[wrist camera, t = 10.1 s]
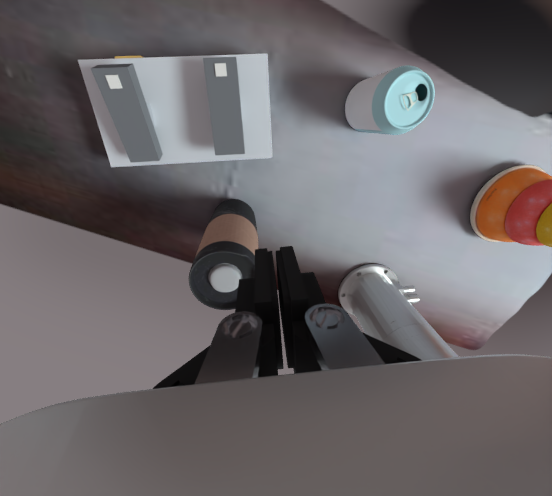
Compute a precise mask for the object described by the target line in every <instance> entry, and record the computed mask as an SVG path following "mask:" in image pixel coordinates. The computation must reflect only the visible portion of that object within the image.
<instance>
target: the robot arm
mask: <svg viewBox="0 0 552 496" xmlns="http://www.w3.org/2000/svg"><path fill="white" fill-rule="evenodd" d="M276 262H277V276H278V290H279V302H280V311H281V319H282V327H283V334H284V342H285V349H286V357H287V365H288V368H294V374H286V375H278V369H283V359H282V358H283V356H282V343H281V330H280V316H279V304H278V295H277V287H276V279H275V271H274V263H273V255H272V251H267V248H265V249H255V277H254V278H245V279H239V284H238V292H237V301H236V310H235V313H233V314H231V315H229V316H227V317H225V318H224V319H223V320H222V321H221V322H220V324H219V325H218V328H217V330H216V333H215V335H214V337H213V340H212V343H211V345H210V346H209V347H207V348H206V349H205V350H203V351H202V352H201V353H199V354H198V355H196V356H195V357H194V358H192V359H191V360H190V361H188V362H187V363H186V364H184V365H183V366H182V367H180V368H179V369H177V370H176V371H175V372H173V373H172V374H171V375H169V376H168V377H166V378H165V379H164V380H162V381H161V382H160V383H158V384H157V385H156V386H155V387H154V388H153V389H149V390H140V391H131V392H124V393H116V394H110V395H103V396H95V397H88V398H82V399H77V400H72V401H68V402H63V403H58V404H55V405H52V406H48V407H45V408H41V409H38V410H35V411H32V412H29V413H27V414H24V415H21V416H19V417H16V418H14V419H11V420H9V421H6V422H4V423H1V424H0V496H552V358H551V357H544V356H533V355H519V354H517V355H516V354H498V355H484V356H483V355H482V356H468V357H459V356H458V355H457V354H456V353H455V352H454V351H453V350H452V349H451V348H450V347H449V346H448V345H447V344H446V342H445V341H444V340H443V339H442V338H441V337H440V336H439V335H438V334H437V333H436V331H435V330H434V329H433V328H432V327H431V326H430V325H429V323H428V322H427V321H426V320H425V319H424V318H423V317H422V316H421V314H420V313H419V312H418V311H417V310H416V309H415V308H414V307H413V305H412V304H415V303H418V302H419V297H418V295H417V294H409V295H403V293H412V292H414V291H415V288H414V286H405V287H402V286H400V284H399V281H398V278H397V276H396V275H395V273H394V272H393V271H392V270H391V269H390V268H388V267H386V266H384V265H380V264H368V265H364V266H361V267H359V268H356V269H355V270H353V271H352V272H350V273H349V274H348V275H347V276H346V277H345V278H344V279H343V281H342V283H341V285H340V287H339V292H338V297H339V301H340V303H341V305H342V307H343V308H344V309H345V310H344V309H342V308H341V307H339V306H336V305H333V304H326V302H325V300H324V297H323V295H322V292H321V290H320V287H319V285H318V282H317V280H316V277H315V275H314V273H313V272H310V273H300V269H299V266H298V263H297V260H296V257H295V253H294V250H293V247H292V246H288V247H280V250H279V251H276ZM346 311H347V312H348V313H350V314H352V315H355V316H356V317H357V319H358V321H359V323H360V325H361V326H362V328H363V330H364V332H365V333H362V332H361V331H360V329H359V328H358V326H357V325H356V324H355V323H354V321H353V320H352V318H351V317H350V316H349V314H348V313H347V312H346Z"/></svg>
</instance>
